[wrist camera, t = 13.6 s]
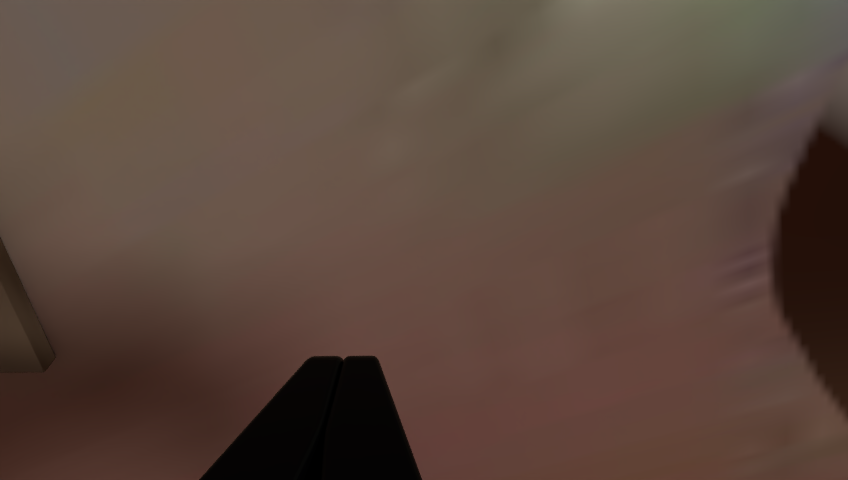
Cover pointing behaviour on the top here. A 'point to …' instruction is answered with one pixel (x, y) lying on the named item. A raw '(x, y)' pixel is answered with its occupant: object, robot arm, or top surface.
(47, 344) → the drawing board
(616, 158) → the top surface
